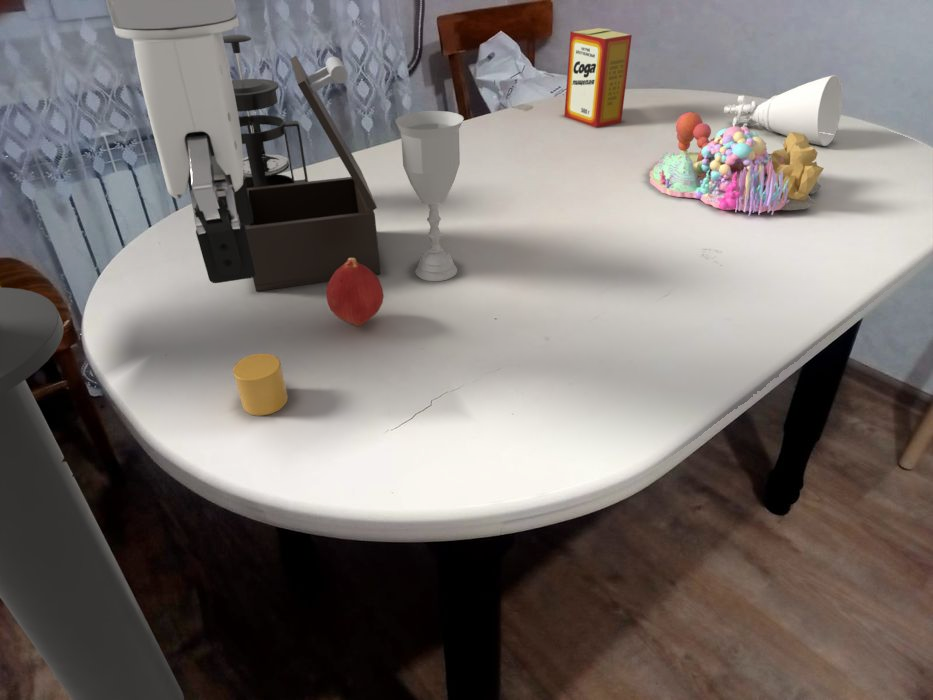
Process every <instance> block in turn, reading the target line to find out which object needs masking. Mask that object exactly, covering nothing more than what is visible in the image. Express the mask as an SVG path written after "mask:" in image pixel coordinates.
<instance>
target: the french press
mask: <svg viewBox="0 0 933 700" xmlns="http://www.w3.org/2000/svg"><path fill="white" fill-rule="evenodd" d="M222 36H223V41H224V44H231V49H232V54H235V57H236V64H237V67H238V73H239V77H240V79H234V80H232V84H233V89H234V94H235V99H236V105H237V111H238V112H246V113H247V115H242V116H239V123H240V128H241V127H247V133H246V132H245V133H241V139H242V145H245V149H246V154H247V156H243V176H244V179H245V183H246V188H254V187H263V186H272V185H281V184H290V183H300V182H309V179H308V178H309V177H308V171H307V166H306V165H307V164H306V159H305V152H304V145H303V139H302V133H301V126H300V122H299V121H298V120H287V121H286V120H285V119H284V118H282V117H280V116H276V115H270V114H251V111H252V112H253V111H259V110H262V109H263V110H264V109H267V108H270V107H273V106H274V105H276V104H277V103H278V101H279V100H278V95H277V91H278V89H279V88H280V87H279V83H278V82H277V81H274V80H272V79H264V78H244V74H243V69H242V65H241V59H240V53H241V47H240V43H246V42H249V41H251V40H252V37H251V36H250V35H245V34H228V35H222ZM262 125H263V126H264V125H265V126H266V125H267V126H275V128H272V129H268V130H264V131H262V128H261V126H262ZM290 127H291V128H292V127H296V130H297V137H298V143H299V148H300V155H301V156H300V157H301V162H302V169H303V175H304V179H296V180H295V176H294V170H293V169H294V168H293V164H292V158H291V151H290V146H289V140H288V133H287V128H290ZM282 136H284V138H285V145H286V151H287V157H288V158H287V157H286V156H284V155H280V154H271V153H270V154H268V153H266V150H265V145H264V142H270V141H274V140H277V139H279V138H281V137H282ZM287 169H289V170H290V174H291V175H290V176H288V175H284V174H282V173H283V172H285V171H286V170H287Z"/></svg>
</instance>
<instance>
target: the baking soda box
mask: <svg viewBox="0 0 933 700" xmlns="http://www.w3.org/2000/svg"><path fill="white" fill-rule="evenodd" d="M631 44H632V34H629V33H624V32H619V31H615V30H612V29H611V28H601V27H594V28H586V29H580V30H573V31H570V34H569V45H568V46H569V47H568V48H569V49H568V60H567V73H566V89H565V103H564V116H563V117H565V118H568V119H571V120H574V121H577V122H579V123H582V124H585V125H588V126H591V127H594V128H596V129H597V128H601V127H607V126H610V125H614V124H618V123H622V121H623V111H624V102H625V95H626V88H627V87H626V86H627V79H628V78H627V77H628V69H629V62H630V53H631V46H632V45H631Z"/></svg>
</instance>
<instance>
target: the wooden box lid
mask: <svg viewBox="0 0 933 700" xmlns="http://www.w3.org/2000/svg"><path fill="white" fill-rule="evenodd" d="M290 64H291V67H292V70H293V72H294V76H295V80H296V83H297V86H298V88H299V89H300V91H301V93H302V95H303V96H304V98H305V100H306V101H307V103H308V105H309V107H310V109H311V111H312V112H313V114H314V115H315V117H316V119H317V120H318V123H319V124H320V126H321V127H322V129H323V131H324V133H325V134H326V136H327V137H328V140H329V141H330V143H331V145H332V146H333V148H334V150H335V152H336V153H337V155H338V157H339V159H340V160H341V162H342V164H343V166H344V167H345V169H346V170H347V172H348V174H349V175H350V176H349V177H352V179H353V181H354V182H355V184H356V186H357V188H358V189H359V191H360V193H361V194H362V196H363V198H364V200H365V201H366V203H367V205H368V207H369V208H370V210H371V211H374V210H376V209H378V206H377V204H376V202H375V199H374V197H373V194H372V192H371V190H370V188H369V185H368V183H367V181H366V179H365V176H364V174H363V172H362V169H361V168H360V166H359V164H358V162H357V161H356V159H355V157H354V155H353V154H352V151H351V149H350V148H349V146H348V144H347V142H346V140H345V139H344V137H343V136H342V134H341V132H340V131H339V129H338V126H337V125H336V123H335V121H334V120H333V117H332V116H331V115H330V113H329V111H328V109H327V107H326V106H325V104H324V102H323V100H322V98H321V96H320V95H319V93H318V92H317V91H320V90H321V89H323V88H325V87H326V86H329V85H331V84H332V83H335V84H338V85H341V84H344V83H346V81H347V80H348V77H349V74H348V73H349V72H348V71H347V68H346V67H345V65H344V63H343V62H342V60H341V59H340V58H339V57H338V56H330V57H328V58H327V60H326V62H325V66H324V67H322V68H320V69H318V70H316V71H315V72H313V73H311V74H310V75H308V74H307V71H306V70H305V69H304V67H303V65H302V63H301V62H300V60H299V58H298V57H297V55H295V56H293V57H291V58H290Z"/></svg>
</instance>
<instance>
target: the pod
mask: <svg viewBox="0 0 933 700" xmlns="http://www.w3.org/2000/svg"><path fill="white" fill-rule="evenodd" d="M232 372H233V376H234V379H235V384H236V387H237V391H238V394H239V395H238V396H239V399H240V402H241V406H242V409H243V410H244V411H245V412H246V413H247V414H248V415H251V416H268V415H271V414H274V413H276V412H278V411H280V410H282V409H283V408H284V407H285V405H286V404H287V402H288V400H289V399H288V398H289V395H288V391H287V386H286V381H285V378H284V373H283V369H282V363H281V360H280V358H278V357H277V356H276V355H274V354H272V353H263V352H262V353H254V354H250V355H248V356H245V357H243V358H241V359H240V360H239V361H237V362H236V364H235V365H234V366H233V371H232Z"/></svg>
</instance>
